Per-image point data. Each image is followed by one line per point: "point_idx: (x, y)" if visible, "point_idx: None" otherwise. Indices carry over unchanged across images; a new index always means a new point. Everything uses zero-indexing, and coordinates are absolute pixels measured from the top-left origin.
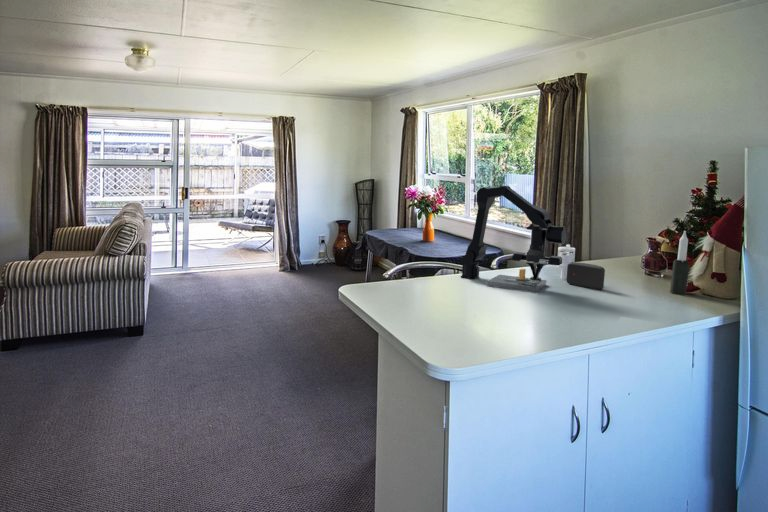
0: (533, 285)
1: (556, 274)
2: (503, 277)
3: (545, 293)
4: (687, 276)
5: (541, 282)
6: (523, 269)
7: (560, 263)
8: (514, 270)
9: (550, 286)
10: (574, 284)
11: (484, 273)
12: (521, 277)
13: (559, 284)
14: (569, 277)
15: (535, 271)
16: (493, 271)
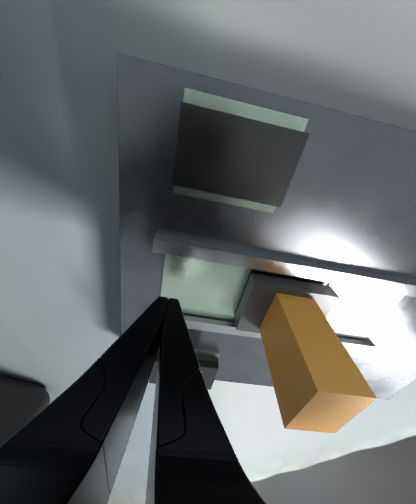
0: (172, 172)
1: (137, 460)
2: (391, 354)
3: (42, 68)
4: None
5: (132, 312)
6: (316, 411)
7: None
8: (273, 464)
9: (99, 324)
10: (5, 378)
11: (405, 423)
12: (300, 309)
13: (75, 369)
14: (11, 421)
15: (156, 387)
16: (353, 446)
